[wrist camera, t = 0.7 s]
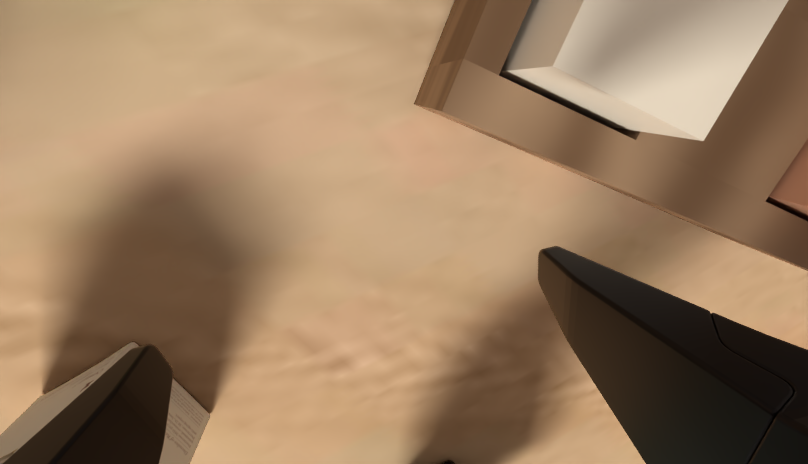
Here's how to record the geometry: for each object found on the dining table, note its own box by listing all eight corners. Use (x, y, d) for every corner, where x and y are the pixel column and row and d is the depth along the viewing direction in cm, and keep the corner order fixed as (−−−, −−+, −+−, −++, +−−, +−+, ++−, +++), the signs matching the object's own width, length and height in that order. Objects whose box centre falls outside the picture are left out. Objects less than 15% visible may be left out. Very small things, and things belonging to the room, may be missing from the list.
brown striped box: (835, 88, 25) (1009, 88, 18) (732, 240, 28) (851, 288, 21) (499, -115, 19) (578, -219, 13) (414, 103, 22) (441, 111, 15)
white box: (652, -4, 18) (821, -54, 12) (587, 123, 20) (703, 141, 13) (541, -70, 17) (663, -168, 10) (480, 73, 19) (552, 65, 12)
